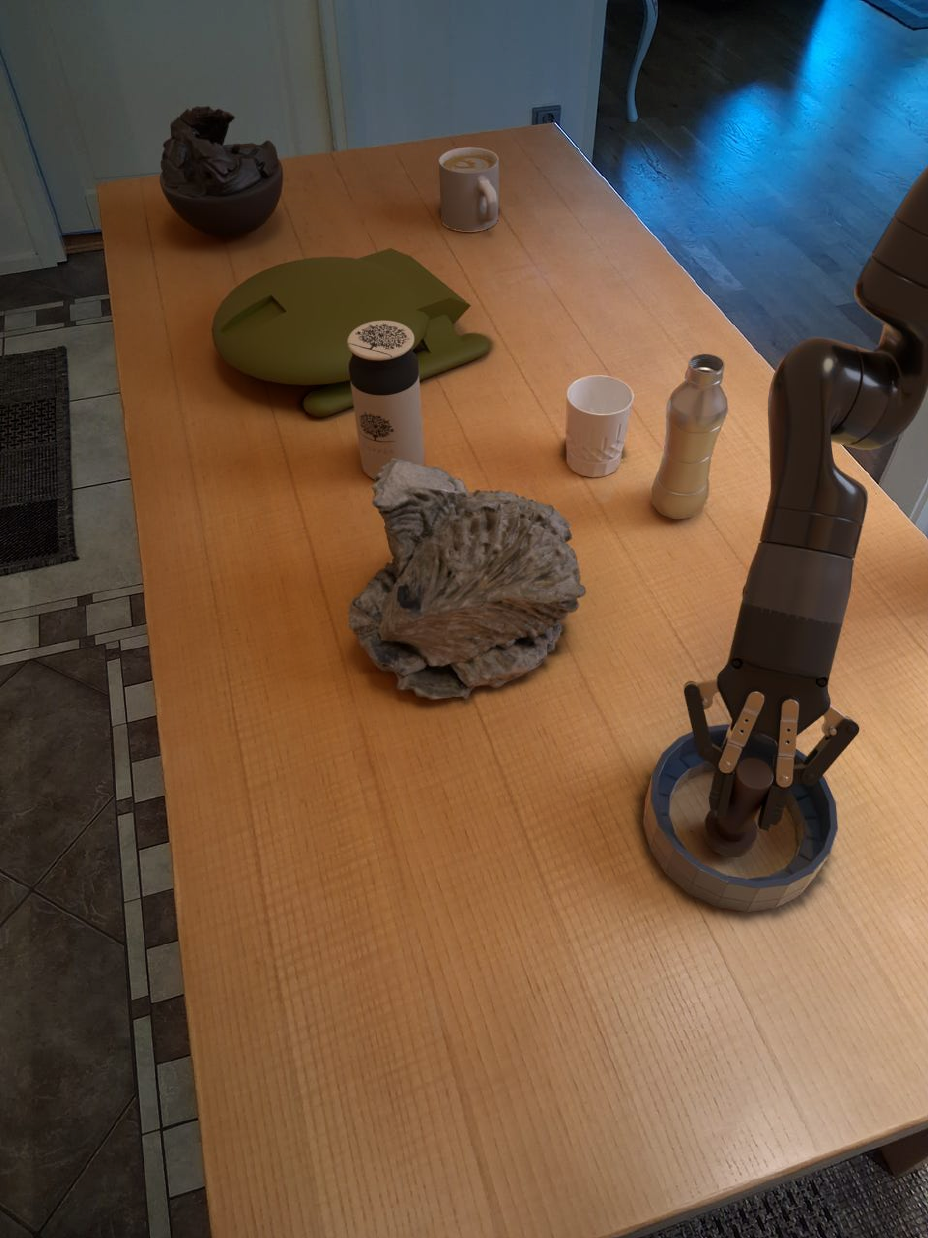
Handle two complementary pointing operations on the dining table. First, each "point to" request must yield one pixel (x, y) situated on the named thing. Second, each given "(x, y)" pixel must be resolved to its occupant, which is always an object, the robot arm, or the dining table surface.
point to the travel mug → (386, 395)
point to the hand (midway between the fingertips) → (741, 821)
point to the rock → (463, 583)
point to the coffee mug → (469, 188)
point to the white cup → (597, 424)
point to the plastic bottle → (690, 438)
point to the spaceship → (337, 321)
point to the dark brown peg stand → (740, 810)
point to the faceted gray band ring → (815, 843)
